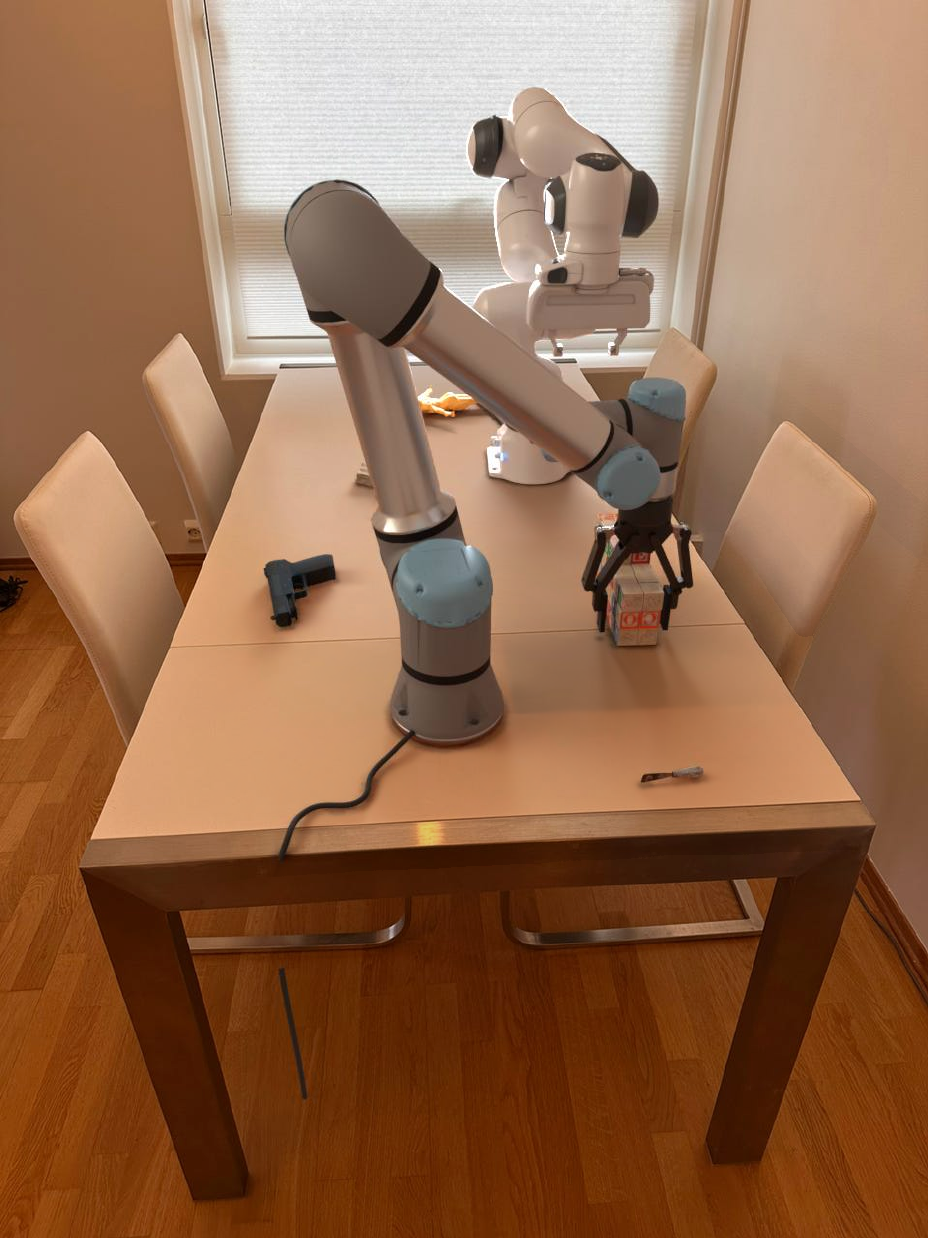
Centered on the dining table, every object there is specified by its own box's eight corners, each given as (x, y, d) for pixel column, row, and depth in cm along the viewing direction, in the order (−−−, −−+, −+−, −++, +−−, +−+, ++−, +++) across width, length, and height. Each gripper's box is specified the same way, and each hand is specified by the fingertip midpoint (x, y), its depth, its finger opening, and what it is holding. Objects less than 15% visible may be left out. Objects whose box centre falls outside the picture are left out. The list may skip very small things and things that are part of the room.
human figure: (395, 413, 223) (394, 398, 221) (438, 390, 237) (438, 375, 235) (462, 429, 215) (462, 413, 213) (502, 404, 229) (503, 388, 227)
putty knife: (703, 777, 109) (705, 767, 109) (642, 788, 108) (644, 777, 107) (700, 772, 110) (702, 762, 109) (639, 782, 109) (640, 771, 108)
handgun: (348, 619, 141) (272, 630, 139) (332, 566, 156) (262, 576, 153) (347, 602, 140) (269, 613, 137) (331, 550, 154) (260, 559, 151)
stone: (424, 474, 190) (423, 463, 189) (399, 496, 181) (398, 484, 180) (370, 466, 195) (369, 455, 193) (343, 486, 185) (342, 475, 184)
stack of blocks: (657, 646, 134) (667, 574, 128) (616, 647, 134) (623, 575, 128) (628, 576, 153) (635, 511, 146) (592, 577, 152) (597, 512, 146)
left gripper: (715, 478, 129) (695, 611, 141) (566, 482, 128) (558, 616, 140) (731, 500, 122) (708, 637, 134) (574, 504, 122) (565, 642, 133)
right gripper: (650, 263, 146) (642, 348, 153) (526, 265, 145) (523, 351, 152) (660, 271, 140) (650, 359, 148) (530, 273, 140) (527, 361, 147)
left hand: (632, 626), depth 137 cm, fingers open, 9 cm apart
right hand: (585, 355), depth 150 cm, fingers open, 8 cm apart
